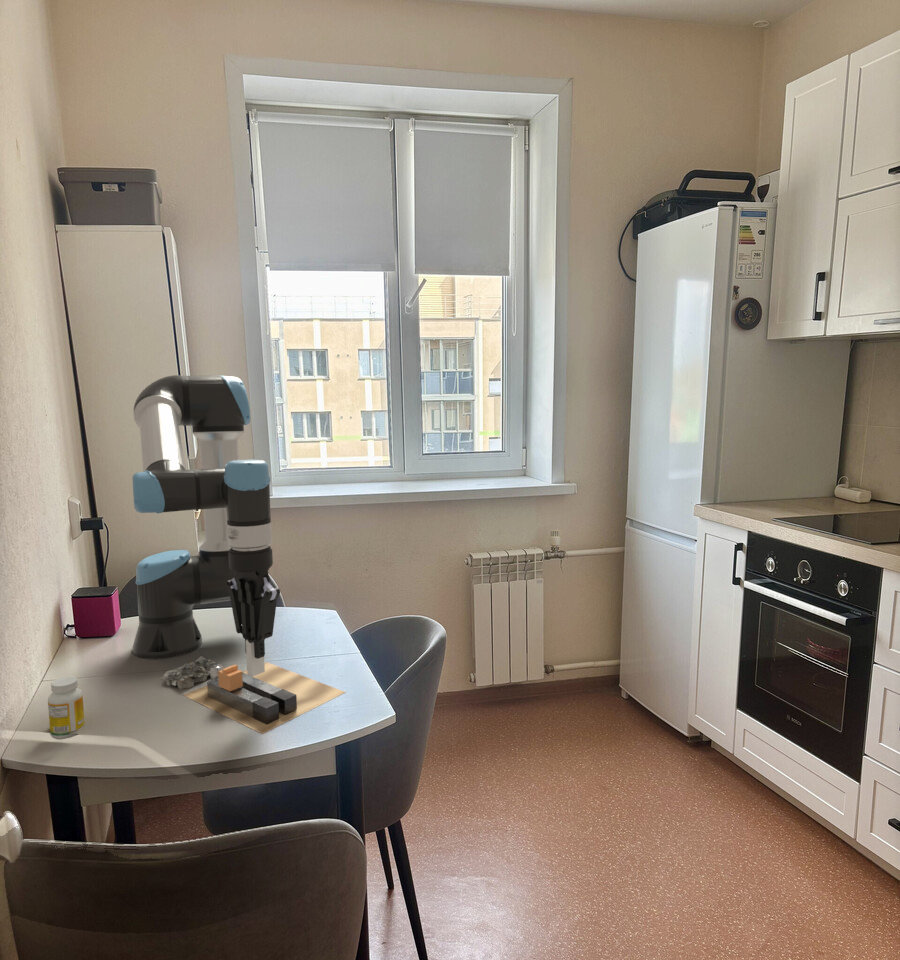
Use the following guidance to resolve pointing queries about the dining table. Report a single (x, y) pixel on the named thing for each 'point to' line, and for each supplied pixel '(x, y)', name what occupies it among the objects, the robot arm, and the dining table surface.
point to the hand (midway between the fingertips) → (256, 673)
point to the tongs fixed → (242, 699)
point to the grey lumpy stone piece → (189, 668)
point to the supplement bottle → (65, 708)
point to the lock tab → (230, 678)
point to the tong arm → (271, 693)
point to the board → (304, 688)
